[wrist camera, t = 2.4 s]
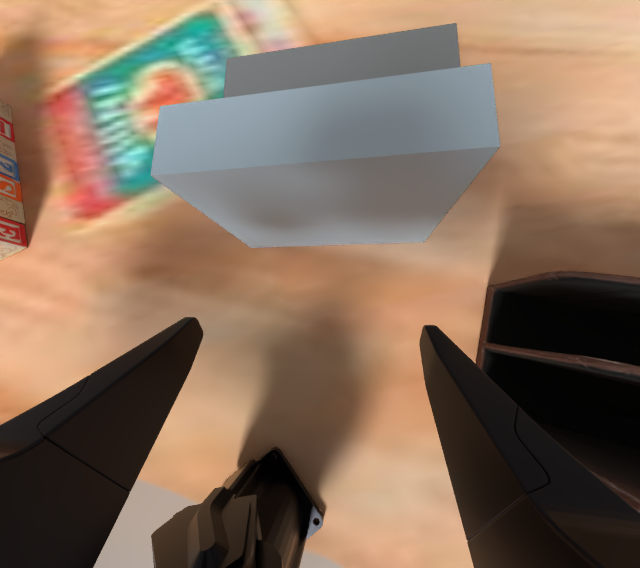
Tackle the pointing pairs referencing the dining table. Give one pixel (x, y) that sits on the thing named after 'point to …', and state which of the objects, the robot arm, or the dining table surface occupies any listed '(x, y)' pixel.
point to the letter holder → (572, 365)
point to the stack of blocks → (10, 190)
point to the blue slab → (332, 157)
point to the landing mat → (344, 61)
